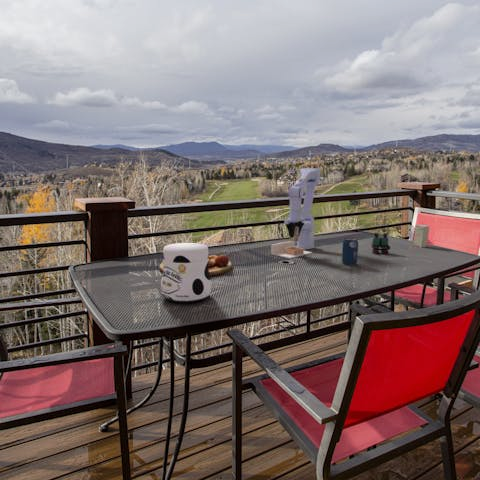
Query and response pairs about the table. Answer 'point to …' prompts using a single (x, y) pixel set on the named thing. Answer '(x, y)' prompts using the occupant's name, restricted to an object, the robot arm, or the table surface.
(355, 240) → the soda can
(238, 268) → the table surface
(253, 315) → the table surface
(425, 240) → the skincare box
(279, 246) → the cup bracket
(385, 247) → the binoculars
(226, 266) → the wooden plate with food
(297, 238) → the beige cylinder
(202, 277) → the milk container
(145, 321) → the table surface
